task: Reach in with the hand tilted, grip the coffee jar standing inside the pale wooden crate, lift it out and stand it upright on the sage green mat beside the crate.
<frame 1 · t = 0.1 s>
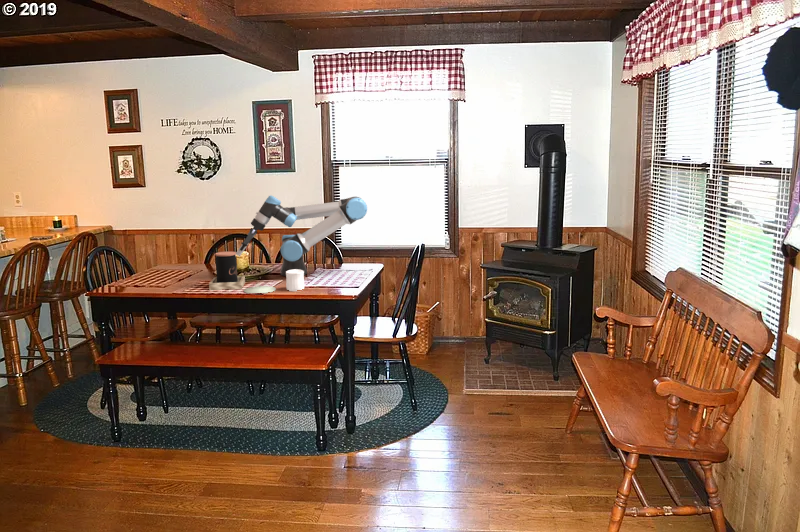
hand: (238, 253, 361), 15 cm above the table, tool tilted 35°, fingers open, 13 cm apart
sage mat: (260, 290, 338), on the table
coffee jar: (227, 286, 349), resting in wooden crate
cup: (295, 290, 339), on the table
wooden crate: (227, 286, 349), on the table
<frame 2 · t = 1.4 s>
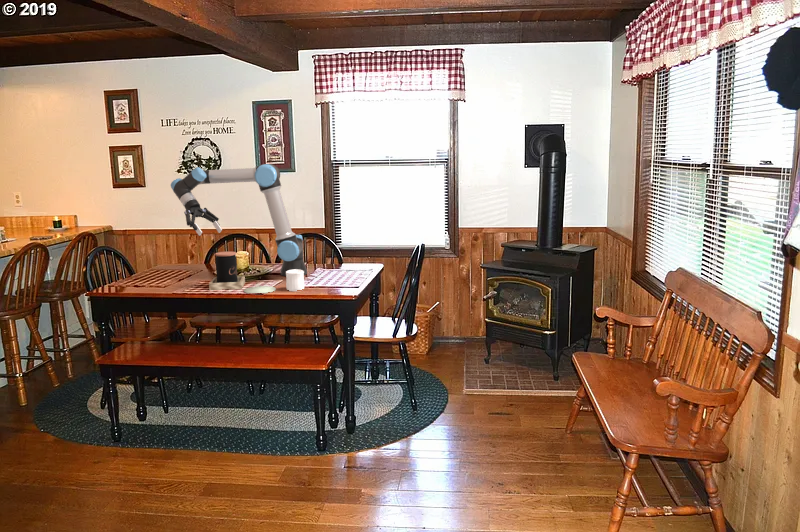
hand: (210, 232, 350), 28 cm above the table, tool tilted 45°, fingers open, 13 cm apart
nothing on the table moved.
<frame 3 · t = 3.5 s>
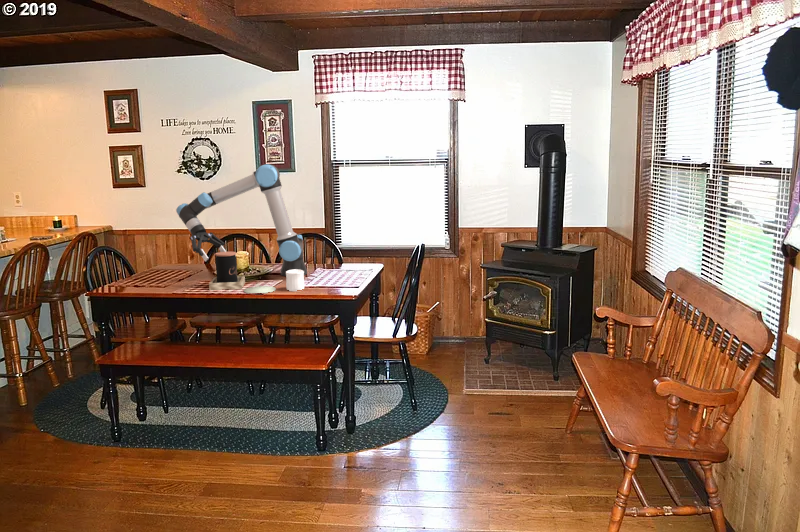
hand: (217, 258, 349), 15 cm above the table, tool tilted 45°, fingers open, 13 cm apart
nothing on the table moved.
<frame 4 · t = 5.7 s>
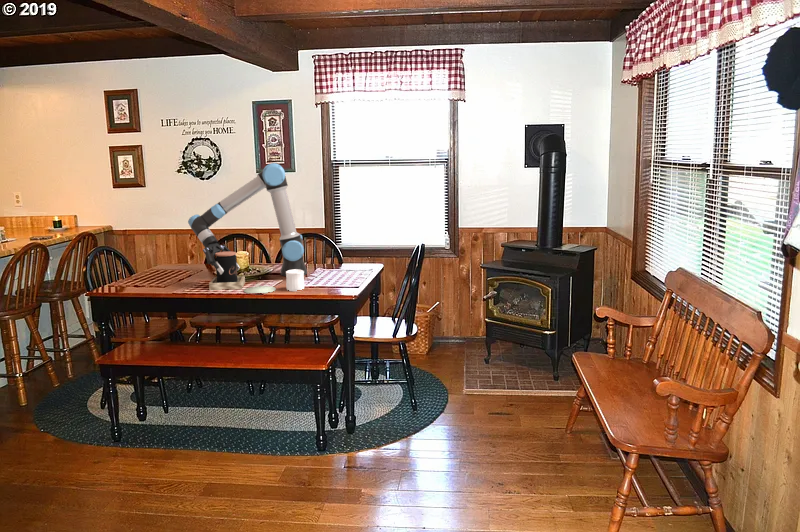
hand: (230, 270, 346), 9 cm above the table, tool tilted 45°, fingers closed on coffee jar, 11 cm apart
coffee jar: (227, 286, 349), resting in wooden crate, touching gripper
everything else where it was.
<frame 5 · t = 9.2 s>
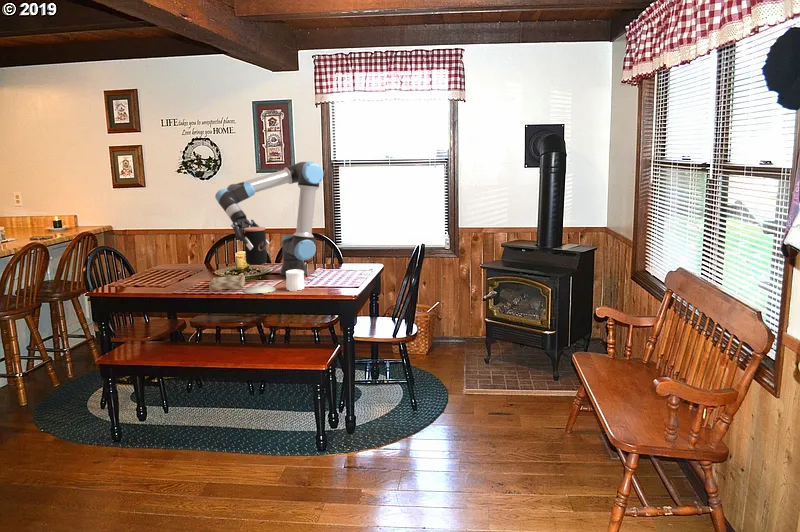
hand: (259, 246, 332), 23 cm above the table, tool tilted 45°, fingers closed on coffee jar, 11 cm apart
coffee jar: (256, 263, 335), point 14 cm above the table, touching gripper
everything else where it was.
when the fingers open (11 cm above the table, at t = 12.7 s): coffee jar drops 1 cm, resting on sage mat.
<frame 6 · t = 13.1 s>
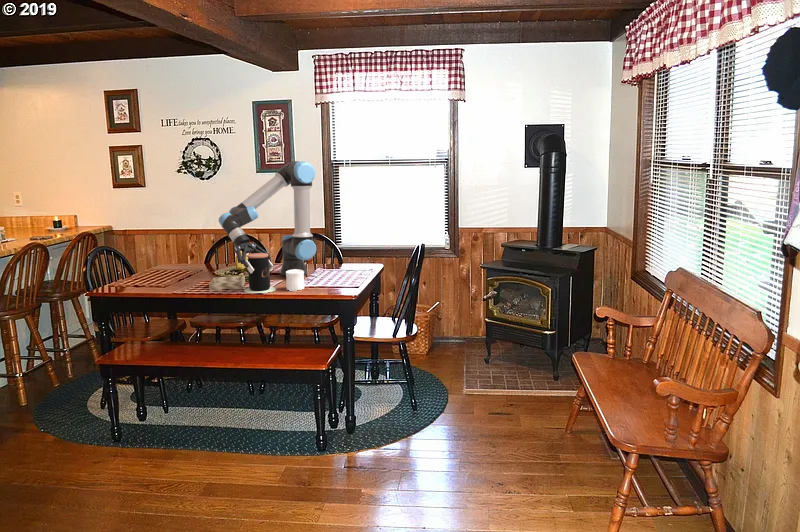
hand: (262, 269, 334), 11 cm above the table, tool tilted 45°, fingers open, 13 cm apart
coffee jar: (259, 289, 338), resting on sage mat
everything else where it was.
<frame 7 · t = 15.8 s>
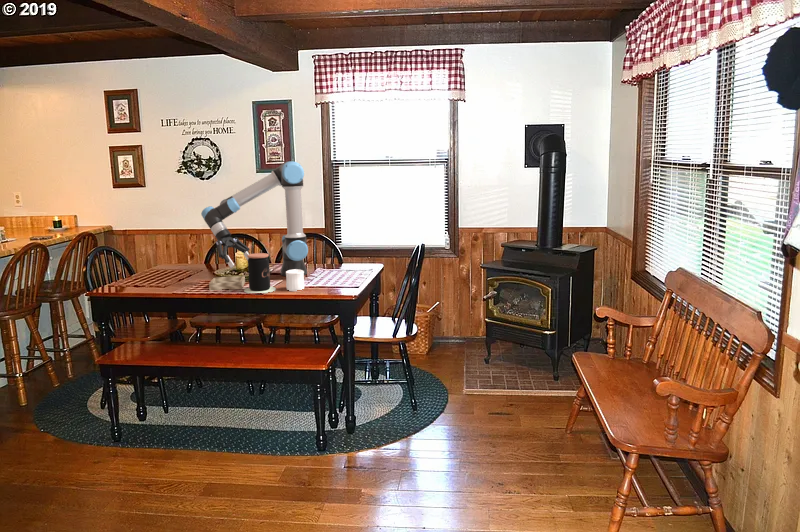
hand: (242, 264, 343), 12 cm above the table, tool tilted 40°, fingers open, 13 cm apart
nothing on the table moved.
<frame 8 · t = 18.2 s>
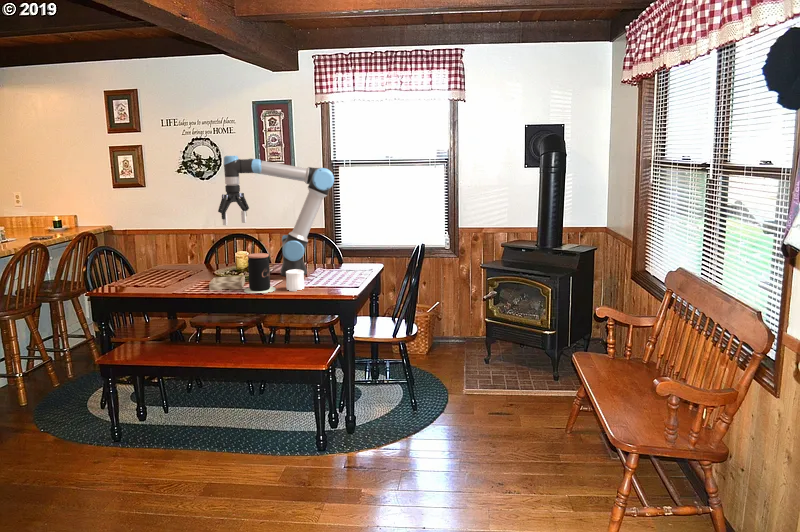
hand: (234, 224, 357), 32 cm above the table, tool pointing down, fingers open, 13 cm apart
nothing on the table moved.
at the end: coffee jar inside the target area on the sage mat (0.1 cm from its centre), point 0.4 cm above the sage mat's base; coffee jar tilted 0°; the gripper is holding nothing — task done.
